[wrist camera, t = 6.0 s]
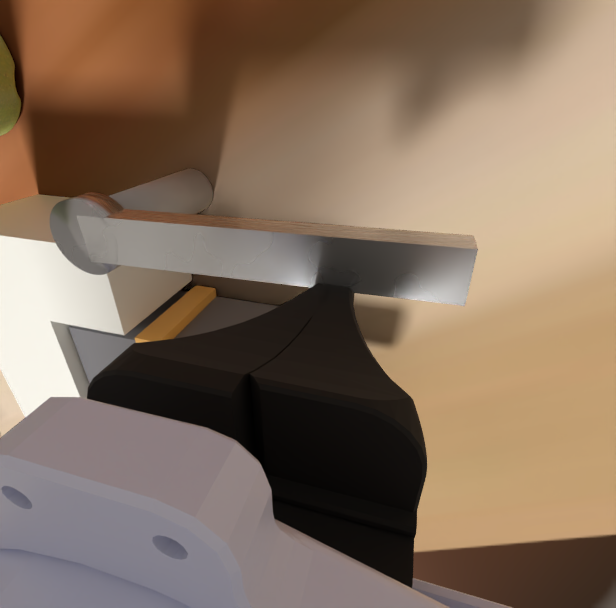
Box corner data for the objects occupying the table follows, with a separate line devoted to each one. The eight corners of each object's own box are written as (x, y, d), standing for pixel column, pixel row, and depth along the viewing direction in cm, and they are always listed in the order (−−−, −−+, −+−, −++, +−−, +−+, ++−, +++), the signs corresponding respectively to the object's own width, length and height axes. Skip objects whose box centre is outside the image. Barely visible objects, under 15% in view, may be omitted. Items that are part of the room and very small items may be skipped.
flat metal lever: (477, 217, 10) (482, 229, 9) (458, 304, 11) (461, 322, 10) (63, 189, 13) (38, 197, 12) (86, 260, 14) (65, 270, 13)
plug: (375, 398, 21) (361, 478, 17) (151, 352, 25) (91, 409, 20) (387, 314, 18) (374, 384, 14) (132, 275, 22) (58, 322, 17)
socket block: (238, 415, 26) (194, 490, 21) (103, 383, 28) (37, 444, 23) (210, 170, 18) (128, 201, 13) (24, 156, 20) (-101, 178, 15)
